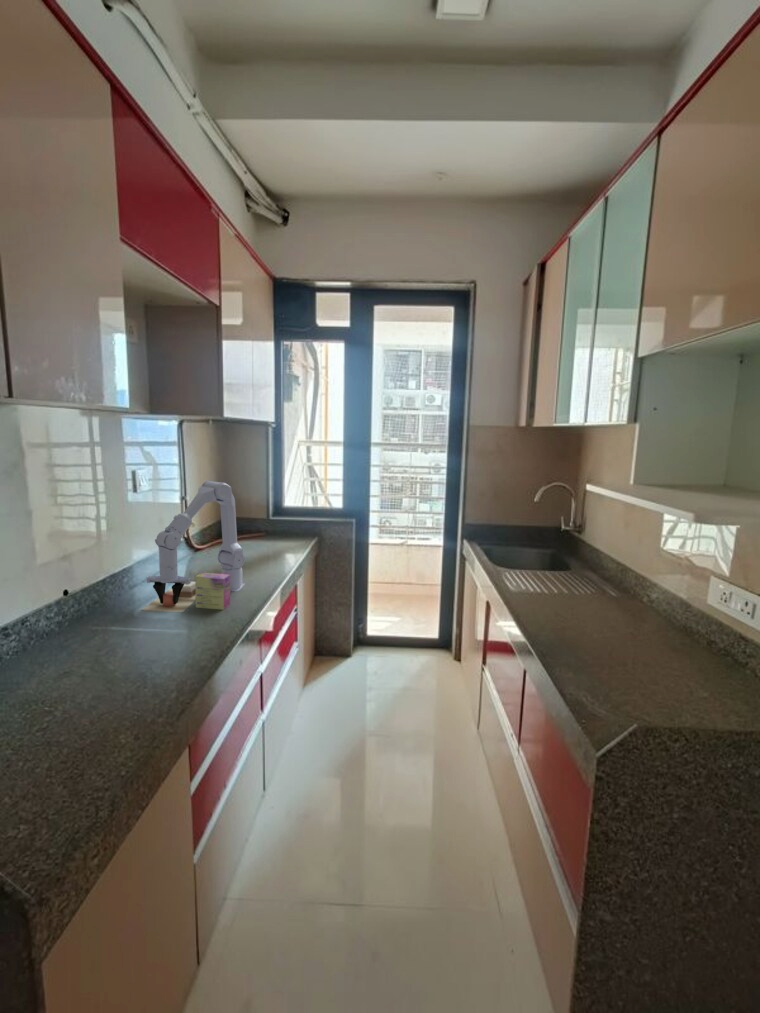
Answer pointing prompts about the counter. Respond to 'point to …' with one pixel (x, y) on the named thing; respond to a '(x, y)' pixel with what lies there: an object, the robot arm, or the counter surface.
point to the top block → (189, 587)
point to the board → (179, 607)
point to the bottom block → (187, 593)
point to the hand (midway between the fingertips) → (169, 602)
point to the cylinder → (168, 599)
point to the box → (212, 591)
